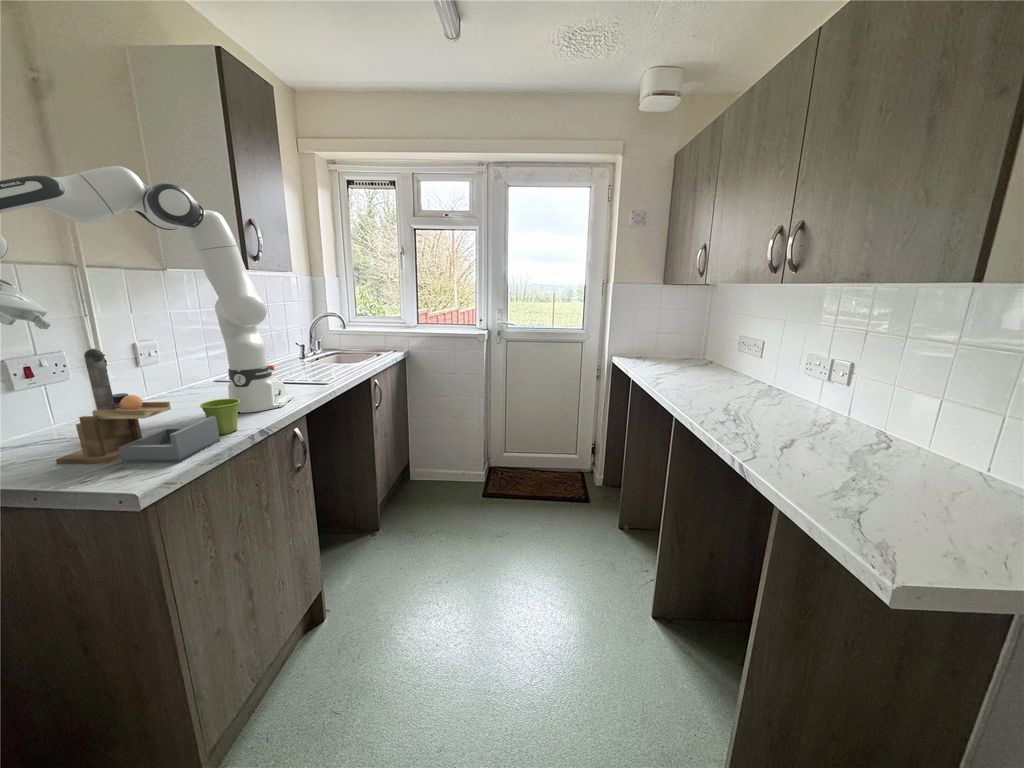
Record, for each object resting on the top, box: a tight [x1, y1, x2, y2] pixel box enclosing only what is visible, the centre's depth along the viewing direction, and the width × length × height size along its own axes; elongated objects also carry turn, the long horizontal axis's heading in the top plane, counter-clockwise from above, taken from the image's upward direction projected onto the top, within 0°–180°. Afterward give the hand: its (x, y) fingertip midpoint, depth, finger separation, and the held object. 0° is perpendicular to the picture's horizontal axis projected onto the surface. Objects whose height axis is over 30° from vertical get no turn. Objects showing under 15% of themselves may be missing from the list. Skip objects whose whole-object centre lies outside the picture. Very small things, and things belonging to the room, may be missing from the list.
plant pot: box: [199, 398, 240, 435], centre depth 118 cm, size 9×9×9 cm
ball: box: [120, 394, 143, 410], centre depth 102 cm, size 4×4×4 cm
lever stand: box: [55, 415, 143, 465], centre depth 103 cm, size 14×12×11 cm
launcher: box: [83, 348, 172, 421], centre depth 101 cm, size 9×14×17 cm, turn 91°
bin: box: [119, 416, 221, 464], centre depth 104 cm, size 14×14×7 cm
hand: (29, 324), depth 96 cm, fingers open, 8 cm apart
